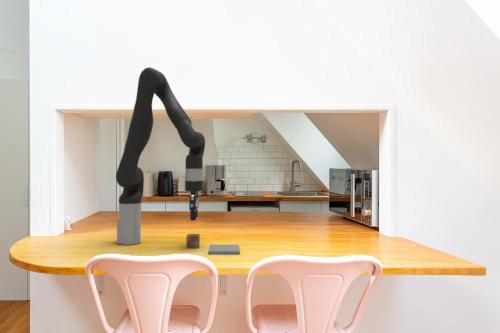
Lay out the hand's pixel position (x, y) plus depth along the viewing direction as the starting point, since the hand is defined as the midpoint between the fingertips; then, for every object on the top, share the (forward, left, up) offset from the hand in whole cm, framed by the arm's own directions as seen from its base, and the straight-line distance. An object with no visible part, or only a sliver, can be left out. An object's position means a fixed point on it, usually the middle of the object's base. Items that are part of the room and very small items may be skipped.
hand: (194, 218), depth 160 cm
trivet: (+13, -7, -12) cm, 19 cm away
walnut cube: (0, 0, -12) cm, 12 cm away
